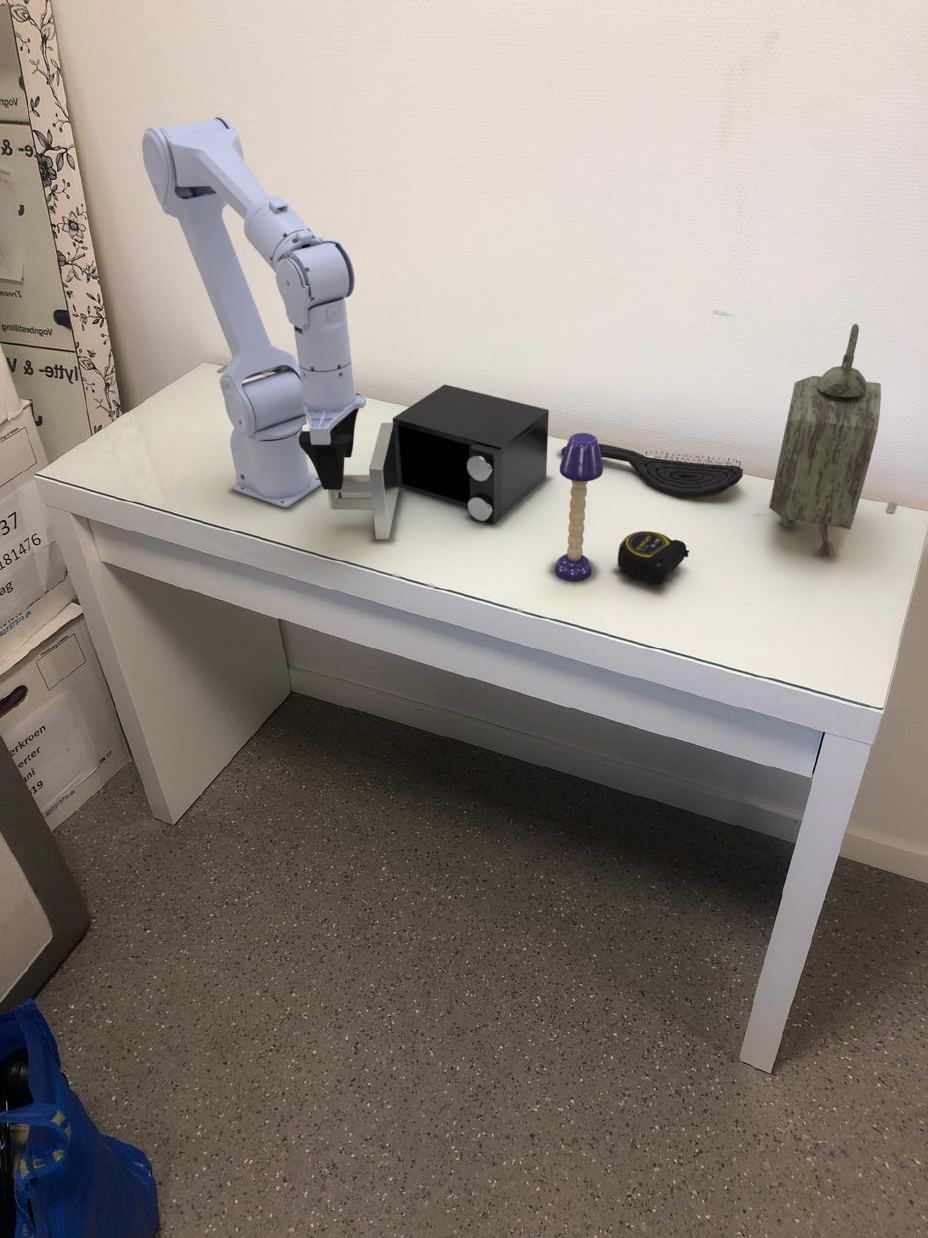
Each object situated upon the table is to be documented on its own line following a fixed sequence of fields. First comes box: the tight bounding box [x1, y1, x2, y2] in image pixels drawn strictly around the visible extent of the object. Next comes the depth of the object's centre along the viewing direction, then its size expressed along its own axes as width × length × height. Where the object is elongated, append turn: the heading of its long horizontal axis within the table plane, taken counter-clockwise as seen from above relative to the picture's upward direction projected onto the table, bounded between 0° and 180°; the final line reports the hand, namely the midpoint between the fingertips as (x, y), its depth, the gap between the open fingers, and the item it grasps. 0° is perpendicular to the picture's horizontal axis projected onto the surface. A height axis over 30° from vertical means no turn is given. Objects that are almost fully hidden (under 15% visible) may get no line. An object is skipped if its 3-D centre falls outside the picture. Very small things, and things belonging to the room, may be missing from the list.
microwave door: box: [327, 422, 400, 540], centre depth 114 cm, size 7×12×10 cm, turn 177°
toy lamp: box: [554, 432, 604, 581], centre depth 101 cm, size 5×5×17 cm
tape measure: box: [617, 530, 690, 586], centre depth 105 cm, size 7×7×4 cm
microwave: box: [392, 383, 550, 525], centre depth 119 cm, size 14×16×10 cm
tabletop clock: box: [768, 323, 882, 557], centre depth 104 cm, size 14×9×25 cm, turn 160°
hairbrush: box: [561, 442, 744, 498], centre depth 123 cm, size 8×4×25 cm
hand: (338, 471), depth 108 cm, fingers open, 7 cm apart
